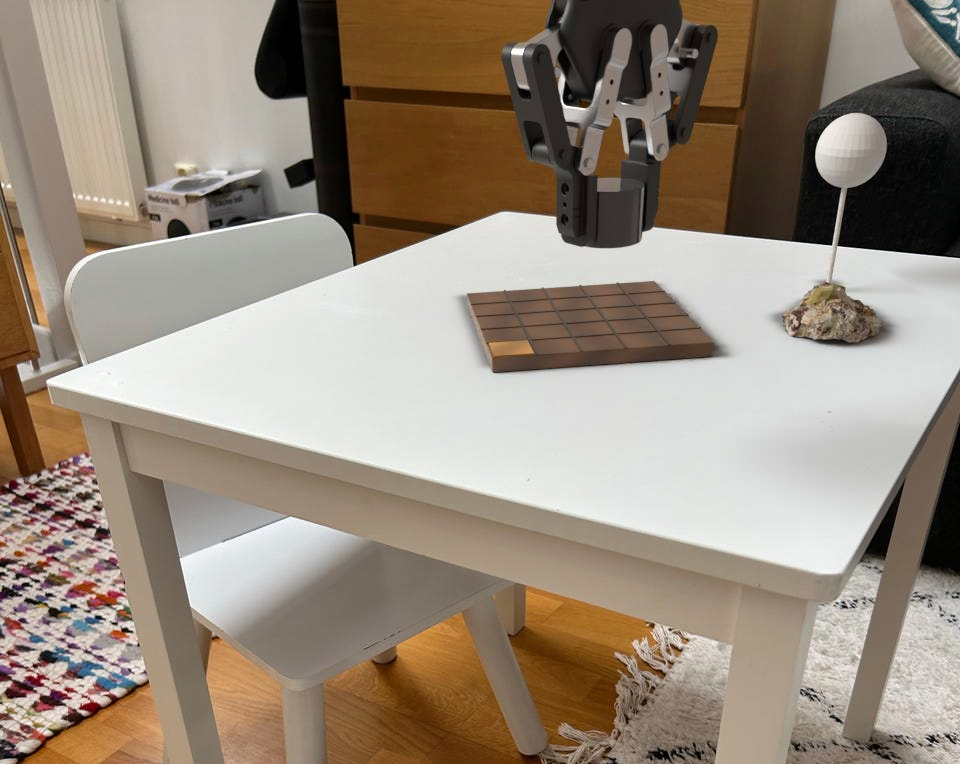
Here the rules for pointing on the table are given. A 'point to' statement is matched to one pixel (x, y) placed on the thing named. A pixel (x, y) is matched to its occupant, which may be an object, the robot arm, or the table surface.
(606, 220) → the dark grey cylinder
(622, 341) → the board
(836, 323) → the mineral rock
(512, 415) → the table surface
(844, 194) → the lollipop
